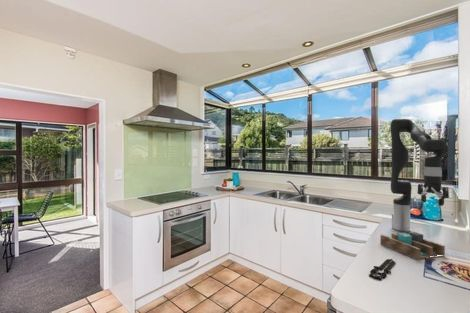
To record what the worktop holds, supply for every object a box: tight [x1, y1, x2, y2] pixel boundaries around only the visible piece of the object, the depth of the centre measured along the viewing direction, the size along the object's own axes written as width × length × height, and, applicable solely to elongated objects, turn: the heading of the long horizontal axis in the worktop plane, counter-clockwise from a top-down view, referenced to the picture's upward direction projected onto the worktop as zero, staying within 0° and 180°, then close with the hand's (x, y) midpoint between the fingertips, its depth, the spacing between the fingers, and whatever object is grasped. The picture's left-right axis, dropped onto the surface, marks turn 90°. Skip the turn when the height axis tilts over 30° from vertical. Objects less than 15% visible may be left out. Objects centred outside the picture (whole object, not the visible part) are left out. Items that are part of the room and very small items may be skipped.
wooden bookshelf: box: [379, 232, 446, 261], centre depth 117 cm, size 20×18×5 cm
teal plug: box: [397, 232, 412, 245], centre depth 116 cm, size 4×4×7 cm
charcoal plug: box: [409, 231, 424, 244], centre depth 118 cm, size 4×4×7 cm
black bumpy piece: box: [368, 258, 396, 281], centre depth 96 cm, size 25×6×1 cm, turn 126°
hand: (432, 203), depth 124 cm, fingers open, 8 cm apart
